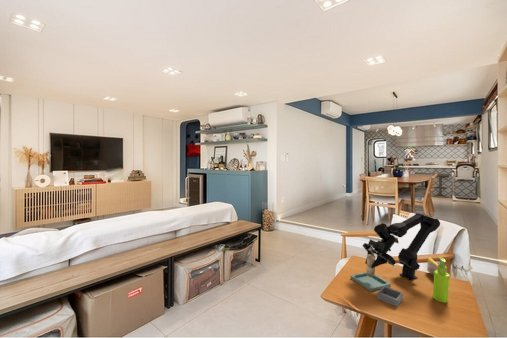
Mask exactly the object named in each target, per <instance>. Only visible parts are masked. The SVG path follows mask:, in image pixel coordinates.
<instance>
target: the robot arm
mask: <svg viewBox="0 0 507 338" xmlns="http://www.w3.org/2000/svg"><path fill="white" fill-rule="evenodd" d="M418 225H420V229H419V230H418V231H417V233H416V235H415V236H414V238H413V239H412V241H411V242H410V244H409V245H408V247H407V248H404V247H402V249H401V250H400V251H399V252H398V254H397V255H398V256H397V257H398V262H399V264H400V265H402V269H401V273H399V275H400V276H401V277H403V278H405V279H407V280H409V281H411V280H416V279H418V276H416V271H418V270H420V266H421V265H420V264H419V263H418V252H419V251H420V249H421V248H422V246H423V245H424V243H425V241H426V240H427V239H428V237H429V236H430V234H431V233H434V232H435V231H437V230H438V229H439V227H440V226H441V222H440V220H439V218H436V217H432V216H428V215H427V214H425V213H420V212H416V213H415V214H414V215H413V216H411V217H408V218H407V219H405V220H403V221H401V222H395V223H391V224H390V225H388V226H387V224H386V223H384V222H382V223H380V224H377V225H375V226H374V228H373V232H375V234H377V236H378V237H379V238H380V239H381V240H377V241H375V240H373V239H369V241H368V243H367V242H365V243H363V245H362V247H363V248H364V249H365V251H366V252H367V255H368V254H371V255H374V256H375V255H376V258H375V261H374V263H373V264H372V266H371V267H372V268H374V267H375V268H377V267H379V266H381V265H385V264H389V265H391V266H393V267H394V266H395V265H396V259H394V257H393V256H392V255H391V254H388V252H391V251H392V249H391V248H392V247H393V245H394V244H395V243H396V244H399V238H403V237H404V236H405V235H407V234H408V231H409V230H410V229H413V228H414V227H415V226H418ZM367 255H366V256H367ZM365 259H366V260H365V264H366V265H367V257H366V258H365Z"/></svg>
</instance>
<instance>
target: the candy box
mask: <svg viewBox="0 0 507 338" xmlns="http://www.w3.org/2000/svg"><path fill="white" fill-rule="evenodd" d="M438 265H439V264H438V263H437V262H436V261H435V260H434V259H433V258H432V257H427V267H426V269H427V272H428V273H430V275H432V277H434V271H436V270H438Z"/></svg>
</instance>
